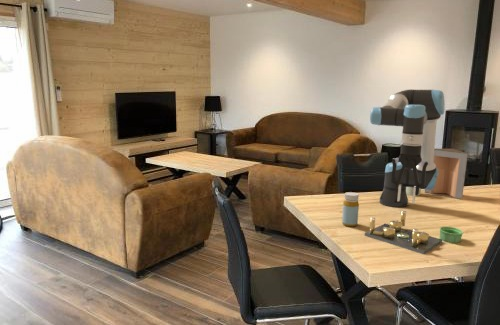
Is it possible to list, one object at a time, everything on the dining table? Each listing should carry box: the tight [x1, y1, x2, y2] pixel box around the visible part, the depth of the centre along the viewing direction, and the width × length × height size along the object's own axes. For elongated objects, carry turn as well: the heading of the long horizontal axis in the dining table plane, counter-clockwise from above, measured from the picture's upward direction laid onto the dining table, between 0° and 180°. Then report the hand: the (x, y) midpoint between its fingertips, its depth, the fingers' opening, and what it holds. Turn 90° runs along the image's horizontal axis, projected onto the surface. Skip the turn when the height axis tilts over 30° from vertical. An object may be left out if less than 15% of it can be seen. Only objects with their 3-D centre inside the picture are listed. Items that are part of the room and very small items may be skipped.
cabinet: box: [424, 148, 469, 200], centre depth 238 cm, size 21×10×28 cm, turn 47°
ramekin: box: [439, 226, 464, 244], centre depth 169 cm, size 9×9×4 cm
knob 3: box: [411, 228, 430, 246], centre depth 160 cm, size 11×5×7 cm, turn 133°
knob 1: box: [368, 217, 395, 238], centre depth 169 cm, size 10×5×7 cm, turn 63°
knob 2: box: [389, 210, 407, 231], centre depth 177 cm, size 10×5×7 cm, turn 133°
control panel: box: [364, 223, 443, 255], centre depth 169 cm, size 26×18×2 cm
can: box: [406, 187, 421, 197], centre depth 240 cm, size 9×9×12 cm
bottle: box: [341, 191, 360, 228], centre depth 184 cm, size 7×7×15 cm
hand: (405, 201), depth 158 cm, fingers open, 5 cm apart
